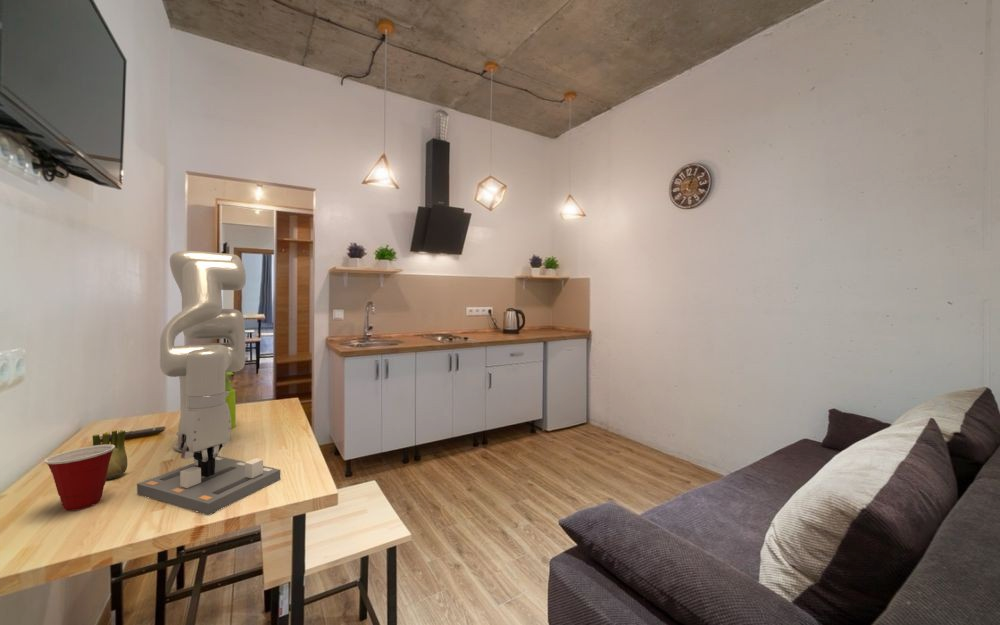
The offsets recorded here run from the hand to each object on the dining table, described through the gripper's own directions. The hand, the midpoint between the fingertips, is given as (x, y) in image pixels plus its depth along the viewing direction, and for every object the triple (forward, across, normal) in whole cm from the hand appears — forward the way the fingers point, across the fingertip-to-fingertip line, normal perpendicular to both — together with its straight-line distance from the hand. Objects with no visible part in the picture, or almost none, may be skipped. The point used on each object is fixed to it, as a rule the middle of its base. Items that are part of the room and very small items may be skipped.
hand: (206, 474), depth 95 cm
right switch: (+1, -5, +9) cm, 10 cm away
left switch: (+1, -5, -9) cm, 10 cm away
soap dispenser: (+4, -33, -38) cm, 50 cm away
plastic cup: (+4, +14, -18) cm, 24 cm away
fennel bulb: (+4, +4, -28) cm, 29 cm away
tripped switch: (+1, +4, 0) cm, 4 cm away
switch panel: (+3, -1, 0) cm, 4 cm away
